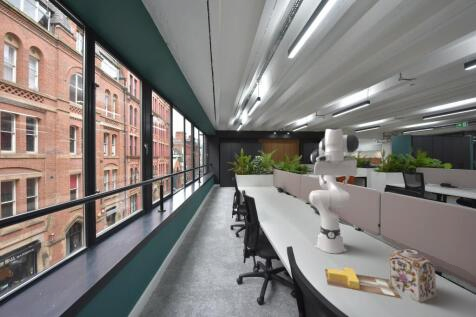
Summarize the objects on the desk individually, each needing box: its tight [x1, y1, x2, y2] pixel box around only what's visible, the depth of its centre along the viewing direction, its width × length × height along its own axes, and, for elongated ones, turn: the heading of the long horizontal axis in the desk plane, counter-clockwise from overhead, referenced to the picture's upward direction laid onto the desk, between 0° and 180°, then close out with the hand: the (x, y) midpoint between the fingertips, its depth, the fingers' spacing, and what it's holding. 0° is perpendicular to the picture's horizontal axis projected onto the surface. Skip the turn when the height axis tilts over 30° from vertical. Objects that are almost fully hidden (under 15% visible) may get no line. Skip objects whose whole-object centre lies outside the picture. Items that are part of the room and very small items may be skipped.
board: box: [324, 268, 403, 300], centre depth 90 cm, size 14×28×1 cm, turn 71°
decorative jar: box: [388, 248, 437, 304], centre depth 86 cm, size 12×12×18 cm
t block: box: [327, 266, 360, 289], centre depth 93 cm, size 12×12×3 cm
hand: (334, 184), depth 100 cm, fingers open, 8 cm apart
